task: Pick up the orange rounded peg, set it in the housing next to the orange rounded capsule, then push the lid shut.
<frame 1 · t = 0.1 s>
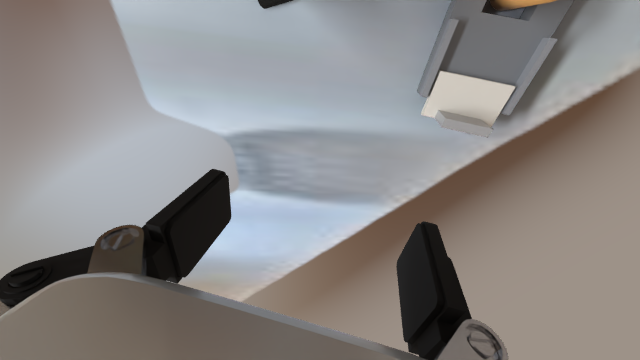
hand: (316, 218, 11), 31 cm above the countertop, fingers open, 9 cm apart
housing: (503, 0, 28), on the countertop
lid: (469, 104, 30), point 5 cm above the countertop, slide at 0.0 cm
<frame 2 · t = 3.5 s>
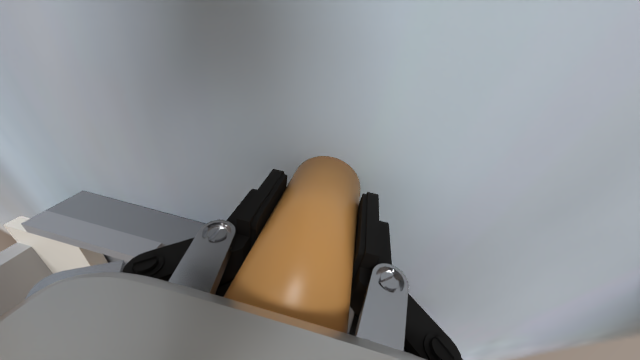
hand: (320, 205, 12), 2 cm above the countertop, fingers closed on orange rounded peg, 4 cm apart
housing: (228, 275, 21), on the countertop
lid: (48, 294, 17), point 5 cm above the countertop, slide at 0.0 cm
orange rounded peg: (326, 186, 14), on the countertop, touching gripper
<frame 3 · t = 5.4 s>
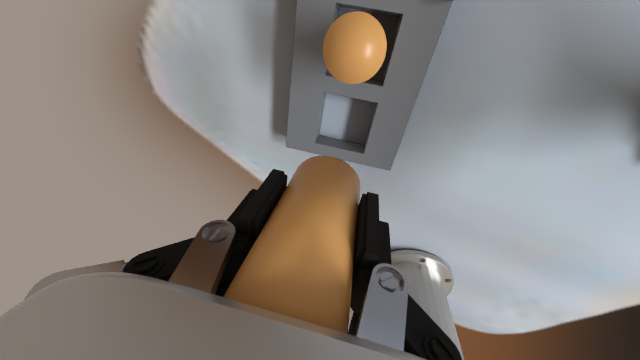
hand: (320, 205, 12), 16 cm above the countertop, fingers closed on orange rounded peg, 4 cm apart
orange rounded capsule: (362, 46, 22), resting in housing
housing: (364, 34, 22), on the countertop
orange rounded peg: (326, 186, 14), point 15 cm above the countertop, touching gripper
when the fingers open (3 cm above the countertop, at t = 7.7 s): orange rounded peg drops 2 cm, resting in housing.
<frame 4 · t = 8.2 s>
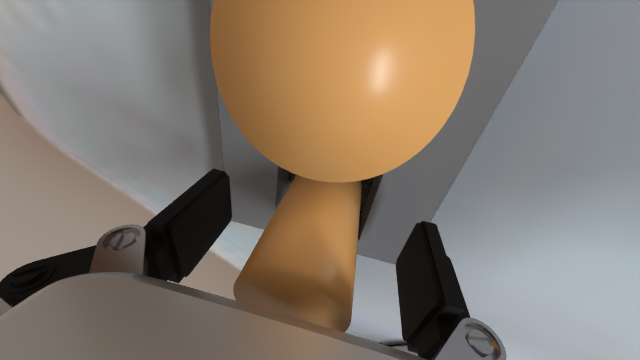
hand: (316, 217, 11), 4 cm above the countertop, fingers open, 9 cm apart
orange rounded capsule: (356, 52, 11), resting in housing
housing: (361, 28, 11), on the countertop
orange rounded peg: (331, 173, 15), resting in housing
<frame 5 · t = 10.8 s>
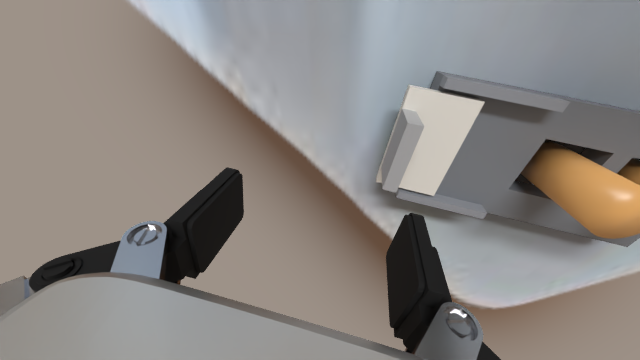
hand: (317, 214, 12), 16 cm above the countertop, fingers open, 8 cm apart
orange rounded capsule: (540, 160, 23), resting in housing
housing: (530, 158, 24), on the countertop
lid: (426, 154, 20), point 5 cm above the countertop, slide at 0.0 cm
orange rounded peg: (615, 176, 23), resting in housing
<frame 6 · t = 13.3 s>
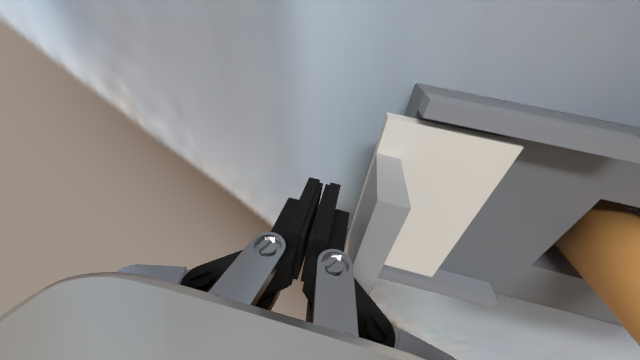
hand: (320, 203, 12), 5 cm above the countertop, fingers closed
orange rounded capsule: (581, 220, 15), resting in housing
housing: (564, 215, 15), on the countertop
lid: (418, 231, 12), point 5 cm above the countertop, slide at 1.1 cm, touching gripper
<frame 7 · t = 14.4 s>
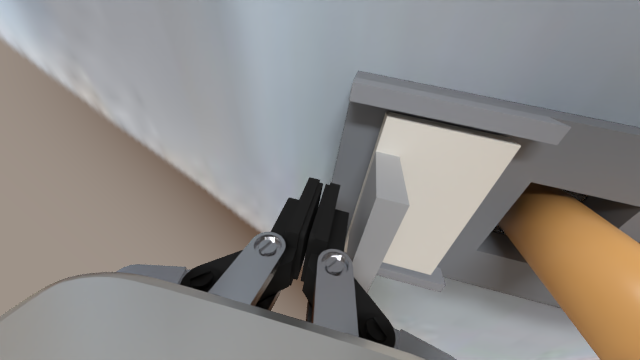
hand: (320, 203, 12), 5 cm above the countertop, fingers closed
orange rounded capsule: (526, 206, 15), resting in housing
housing: (510, 201, 16), on the countertop
lid: (416, 228, 12), point 5 cm above the countertop, slide at 4.4 cm, touching gripper
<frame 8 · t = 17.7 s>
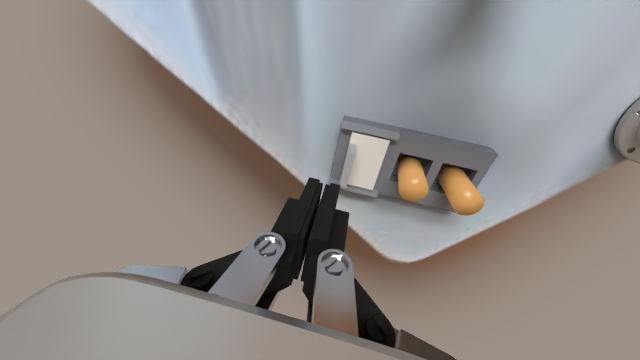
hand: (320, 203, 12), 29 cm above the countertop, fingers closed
orange rounded capsule: (408, 164, 41), resting in housing
housing: (403, 162, 41), on the countertop
lid: (362, 167, 37), point 5 cm above the countertop, slide at 4.4 cm
orange rounded peg: (448, 173, 40), resting in housing
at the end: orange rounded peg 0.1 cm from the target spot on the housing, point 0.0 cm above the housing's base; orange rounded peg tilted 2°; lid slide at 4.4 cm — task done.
